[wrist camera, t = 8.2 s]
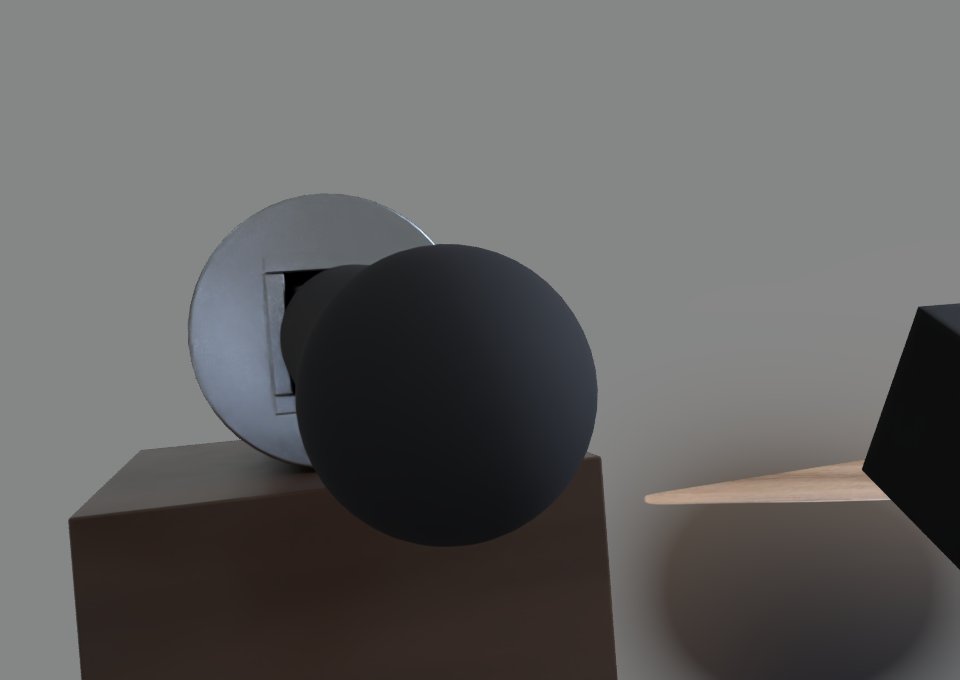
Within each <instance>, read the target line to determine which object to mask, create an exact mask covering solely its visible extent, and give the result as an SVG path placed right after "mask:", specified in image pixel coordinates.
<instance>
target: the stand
mask: <svg viewBox="0 0 960 680" xmlns="http://www.w3.org/2000/svg"><path fill="white" fill-rule="evenodd" d="M68 523H69V534H70V545H71V546H70V547H71V559H72V571H73V583H74V596H75V607H76V620H77V632H78V644H79V656H80V668H81V680H617V668H616V654H615V640H614V627H613V614H612V599H611V585H610V571H609V558H608V544H607V530H606V517H605V502H604V488H603V475H602V461H601V457H600V456H597V455H594V454H591V453H588V452H586V454H585V456H584V458H583V461H582V463H581V465H580V467H579V469H578V471H577V472H576V474H575V475H574V477H573V478H572V480H571V481H570V483H569V484H568V486H567V487H566V488H565V490H564V491H563V492H562V493H561V494H560V495H559V496H558V498H557V499H556V500H555V501H554V502H553V503H552V504H551V505H550V506H549V507H548V508H546V509H545V510H544V511H543V512H542V513H541V514H539V515H538V516H537V517H536V518H534V519H533V520H531V521H530V522H528V523H526V524H525V525H523V526H522V527H520V528H518V529H517V530H515V531H513V532H510V533H508V534H506V535H503V536H501V537H498V538H496V539H493V540H490V541H487V542H483V543H478V544H473V545H466V546H456V547H434V546H424V545H418V544H414V543H411V542H407V541H403V540H399V539H396V538H393V537H391V536H389V535H386V534H384V533H382V532H380V531H378V530H376V529H374V528H372V527H370V526H369V525H367V524H366V523H364V522H363V521H361V520H360V519H358V518H357V517H355V516H354V515H352V514H351V513H350V512H349V511H348V510H347V509H346V508H345V507H343V506H342V505H341V504H340V503H339V502H338V501H337V500H336V499H335V497H334V496H333V495H332V494H331V493H330V491H329V490H328V489H327V488H326V487H325V485H324V484H323V483H322V481H321V479H320V478H319V476H318V475H317V473H316V471H315V470H314V469H311V468H304V467H299V466H295V465H290V464H287V463H284V462H281V461H279V460H276V459H273V458H271V457H269V456H267V455H265V454H263V453H261V452H259V451H257V450H255V449H254V448H252V447H251V446H249V445H248V444H246V443H245V442H244V441H242V440H237V441H227V442H217V443H207V444H198V445H187V446H177V447H168V448H157V449H148V450H141V451H139V453H137V454H136V455H135V456H134V457H133V458H132V459H131V460H130V461H129V462H128V463H127V464H126V465H125V466H124V467H123V468H122V469H121V470H120V471H118V473H116V474H115V475H114V476H113V477H112V478H111V479H110V480H109V481H108V482H107V483H106V484H105V485H104V486H103V487H102V488H101V489H100V490H99V491H97V492H96V494H94V495H93V496H92V497H91V498H90V499H89V500H88V501H87V502H86V503H85V504H84V505H83V506H82V507H81V508H80V509H79V510H78V511H77V512H76V513H74V515H72V516H71V517H70V518H69V520H68Z"/></svg>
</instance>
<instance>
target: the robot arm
mask: <svg viewBox="0 0 960 680" xmlns="http://www.w3.org/2000/svg"><path fill="white" fill-rule="evenodd" d="M862 471H863V472H864V473H865V474H866V475H867V476H868V477H869V478H870V479H871V480H872V481H873V482H874V483H875V484H876V485H877V486H878V487H879V488H880V489H881V490H882V491H883V492H884V493H885V494H886V495H887V496H888V497H889V498H890V499H891V500H892V501H893V502H894V503H895V504H896V505H897V506H898V507H899V508H900V509H901V510H902V511H903V512H904V513H905V514H906V515H907V516H908V517H909V518H910V519H911V521H913V522H914V524H916V526H917V527H918V528H919V529H920V530H921V531H922V532H923V533H924V534H925V535H926V536H927V537H928V538H929V539H930V540H931V541H932V542H933V543H934V544H935V545H936V546H937V547H938V548H939V549H940V550H941V551H942V552H943V553H944V554H945V555H946V556H947V557H948V558H949V559H950V560H951V561H952V562H953V563H954V564H955V565H956V566H957V567H958V568H959V569H960V304H948V305H935V306H923V307H918V309H917V312H916V315H915V318H914V321H913V324H912V327H911V330H910V332H909V335H908V339H907V341H906V344H905V347H904V350H903V353H902V355H901V358H900V361H899V364H898V367H897V370H896V373H895V376H894V378H893V381H892V384H891V387H890V390H889V393H888V396H887V399H886V401H885V404H884V407H883V410H882V413H881V416H880V419H879V422H878V424H877V428H876V430H875V433H874V436H873V439H872V442H871V444H870V447H869V450H868V453H867V456H866V459H865V462H864V465H863V467H862Z"/></svg>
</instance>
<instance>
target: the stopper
mask: <svg viewBox="0 0 960 680" xmlns="http://www.w3.org/2000/svg"><path fill="white" fill-rule="evenodd" d="M285 292H286V306H287V309H286V311H285V313H284V317H283V320H282V324H281V332H280V345H281V352H282V356H283V360H284V363H285V365H286V368H287V370H288V372H289V374H290V376H291V377H292V379H293V381H294V383H295V384H296V386H295V389H296V413H297V420H298V427H299V432H300V435H301V438H302V442H303V445H304V449H305V451H306V453H307V455H308V458H309V460H310V462H311V464H312V466H313V468H314V470H315V471H316V473H317V475H318V476H319V478H320V479H321V481H322V483H323V484H324V485H325V487H326V488H327V489H328V490H329V491H330V493H331V494H332V495H333V496H334V497H335V499H336V500H337V501H338V502H339V503H340V504H341V505H342V506H343V507H345V508H346V509H347V510H348V511H349V512H350V513H351V514H352V515H354V516H355V517H357V518H358V519H360V520H361V521H363V522H364V523H366V524H367V525H369V526H370V527H372V528H374V529H376V530H378V531H380V532H382V533H384V534H386V535H389V536H391V537H393V538H396V539H399V540H403V541H407V542H411V543H414V544H418V545H424V546H434V547H456V546H466V545H473V544H478V543H483V542H487V541H490V540H493V539H496V538H498V537H501V536H503V535H506V534H508V533H510V532H513V531H515V530H517V529H518V528H520V527H522V526H523V525H525V524H526V523H528V522H530V521H531V520H533V519H534V518H536V517H537V516H538V515H539V514H541V513H542V512H543V511H544V510H545V509H546V508H548V507H549V506H550V505H551V504H552V503H553V502H554V501H555V500H556V499H557V498H558V496H559V495H560V494H561V493H562V492H563V491H564V490H565V488H566V487H567V486H568V484H569V483H570V481H571V480H572V478H573V477H574V475H575V474H576V472H577V471H578V469H579V467H580V465H581V463H582V461H583V458H584V456H585V454H586V452H587V449H588V446H589V443H590V440H591V436H592V433H593V429H594V424H595V418H596V412H597V391H598V389H597V380H596V370H595V365H594V361H593V357H592V353H591V350H590V347H589V344H588V342H587V339H586V337H585V335H584V332H583V330H582V328H581V326H580V324H579V322H578V321H577V319H576V317H575V315H574V314H573V312H572V311H571V309H570V308H569V307H568V306H567V304H566V303H565V301H564V300H563V299H562V297H561V296H560V295H559V294H558V293H557V292H556V291H555V290H554V289H553V288H552V287H551V286H550V285H549V284H548V283H547V282H546V281H544V280H543V279H542V278H541V277H540V276H538V275H537V274H536V273H534V272H533V271H532V270H530V269H529V268H527V267H525V266H524V265H522V264H520V263H519V262H517V261H515V260H513V259H511V258H508V257H506V256H504V255H501V254H499V253H496V252H493V251H489V250H486V249H482V248H479V247H472V246H466V245H458V244H457V245H456V244H455V245H454V244H437V245H428V246H420V247H415V248H412V249H408V250H404V251H400V252H397V253H395V254H392V255H390V256H387V257H385V258H382V259H380V260H379V261H377V262H375V263H373V264H371V265H361V264H349V265H341V266H337V267H333V268H330V269H327V270H325V271H322V272H321V273H319V274H317V275H315V276H314V277H312V278H311V279H310V280H308V281H304V282H289V283H287V284H286V285H285Z"/></svg>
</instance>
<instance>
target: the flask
mask: <svg viewBox="0 0 960 680" xmlns="http://www.w3.org/2000/svg"><path fill="white" fill-rule="evenodd" d="M428 245H435V243H434V242H433V241H432V240H431V239H430V238H429V237H428V236H427V235H426V234H425V233H424V232H423V231H422V230H421V229H420V228H419V227H417V226H416V225H415V224H413V223H412V222H411V221H410V220H408V219H407V218H405V217H404V216H402V215H400V214H399V213H397V212H396V211H394V210H392V209H390V208H388V207H386V206H383V205H381V204H379V203H377V202H373V201H370V200H367V199H363V198H360V197H355V196H348V195H343V194H314V195H304V196H299V197H295V198H291V199H287V200H284V201H281V202H278V203H276V204H273V205H270V206H268V207H266V208H264V209H263V210H261V211H259V212H257V213H255V214H253V215H252V216H250V217H249V218H248V219H246V220H245V221H243V222H242V223H241V224H239V225H238V226H237V227H236V228H235V229H234V230H233V231H231V233H229V234H228V235H227V236H226V237H225V238H224V239H223V240H222V242H221V243H220V244H219V245H218V247H217V248H216V249H215V250H214V252H213V253H212V255H211V256H210V258H209V260H208V262H207V263H206V265H205V266H204V268H203V270H202V272H201V274H200V277H199V279H198V282H197V284H196V286H195V290H194V294H193V297H192V301H191V305H190V312H189V320H188V344H189V350H190V357H191V362H192V365H193V369H194V372H195V376H196V379H197V381H198V384H199V386H200V388H201V390H202V392H203V394H204V397H205V398H206V400H207V401H208V403H209V405H210V406H211V408H212V409H213V411H214V412H215V414H216V415H217V416H218V417H219V418H220V419H221V421H222V422H223V423H224V424H225V425H226V427H228V428H229V429H230V430H231V431H232V432H233V433H234V434H235V435H236V436H237V437H238V438H239V439H241V440H242V441H244V442H245V443H246V444H248V445H249V446H251V447H252V448H254V449H255V450H257V451H259V452H261V453H263V454H265V455H267V456H269V457H271V458H273V459H276V460H279V461H281V462H284V463H287V464H290V465H295V466H299V467H304V468H311V469H314V468H313V466H312V464H311V462H310V460H309V458H308V455H307V453H306V451H305V449H304V445H303V442H302V438H301V435H300V432H299V427H298V420H297V413H296V389H295V386H296V384H295V383H294V381H293V379H292V377H291V376H290V374H289V372H288V370H287V368H286V365H285V363H284V360H283V356H282V352H281V345H280V332H281V324H282V320H283V317H284V313H285V311H286V309H287V306H286V292H285V285H286V284H287V283H289V282H304V281H308V280H310V279H311V278H312V277H314V276H315V275H317V274H319V273H321V272H322V271H325V270H327V269H330V268H333V267H337V266H341V265H349V264H361V265H371V264H373V263H375V262H377V261H379V260H380V259H382V258H385V257H387V256H390V255H392V254H395V253H397V252H400V251H404V250H408V249H412V248H415V247H420V246H428Z"/></svg>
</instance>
